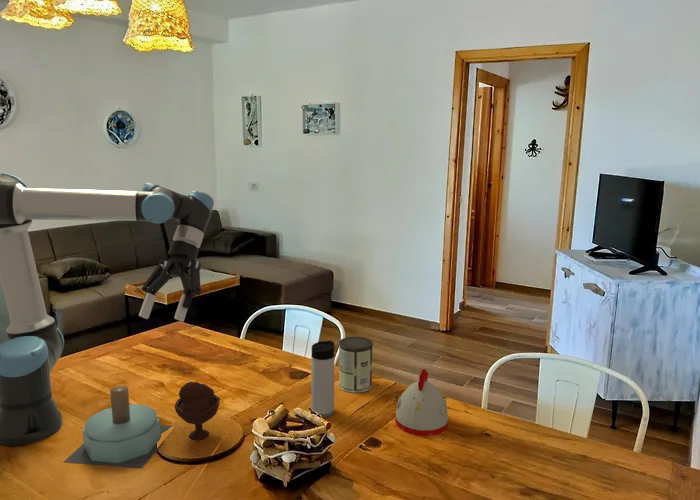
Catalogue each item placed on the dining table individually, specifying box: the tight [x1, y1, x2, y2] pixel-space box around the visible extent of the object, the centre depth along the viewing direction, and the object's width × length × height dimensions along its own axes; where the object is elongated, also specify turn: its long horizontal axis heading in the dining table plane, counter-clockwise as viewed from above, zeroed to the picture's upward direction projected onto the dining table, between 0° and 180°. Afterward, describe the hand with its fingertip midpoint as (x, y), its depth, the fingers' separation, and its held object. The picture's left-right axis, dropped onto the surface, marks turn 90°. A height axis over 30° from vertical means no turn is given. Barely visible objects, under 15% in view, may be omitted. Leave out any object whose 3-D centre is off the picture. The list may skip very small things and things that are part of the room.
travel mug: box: [310, 340, 335, 418], centre depth 152 cm, size 6×7×20 cm
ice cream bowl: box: [174, 381, 221, 442], centre depth 139 cm, size 11×11×15 cm
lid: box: [82, 385, 161, 463], centre depth 135 cm, size 16×16×14 cm
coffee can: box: [338, 336, 374, 394], centre depth 169 cm, size 10×10×14 cm
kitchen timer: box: [395, 368, 449, 437], centre depth 148 cm, size 14×14×15 cm
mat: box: [63, 424, 173, 469], centre depth 136 cm, size 19×19×1 cm
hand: (160, 318), depth 145 cm, fingers open, 13 cm apart
